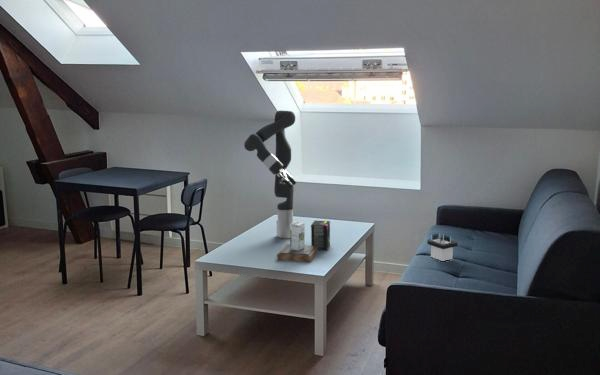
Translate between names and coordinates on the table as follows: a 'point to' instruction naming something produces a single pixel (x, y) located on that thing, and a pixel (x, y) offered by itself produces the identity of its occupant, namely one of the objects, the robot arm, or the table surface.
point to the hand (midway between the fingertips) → (293, 185)
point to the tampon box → (320, 234)
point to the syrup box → (297, 235)
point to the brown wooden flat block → (297, 254)
